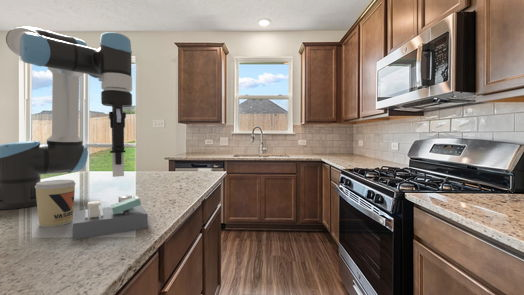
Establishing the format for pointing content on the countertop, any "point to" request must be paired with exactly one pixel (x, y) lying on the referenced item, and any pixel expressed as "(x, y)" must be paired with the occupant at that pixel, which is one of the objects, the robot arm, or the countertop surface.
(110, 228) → the console
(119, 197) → the plunger
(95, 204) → the slider
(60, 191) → the coffee cup
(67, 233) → the countertop surface
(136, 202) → the block
